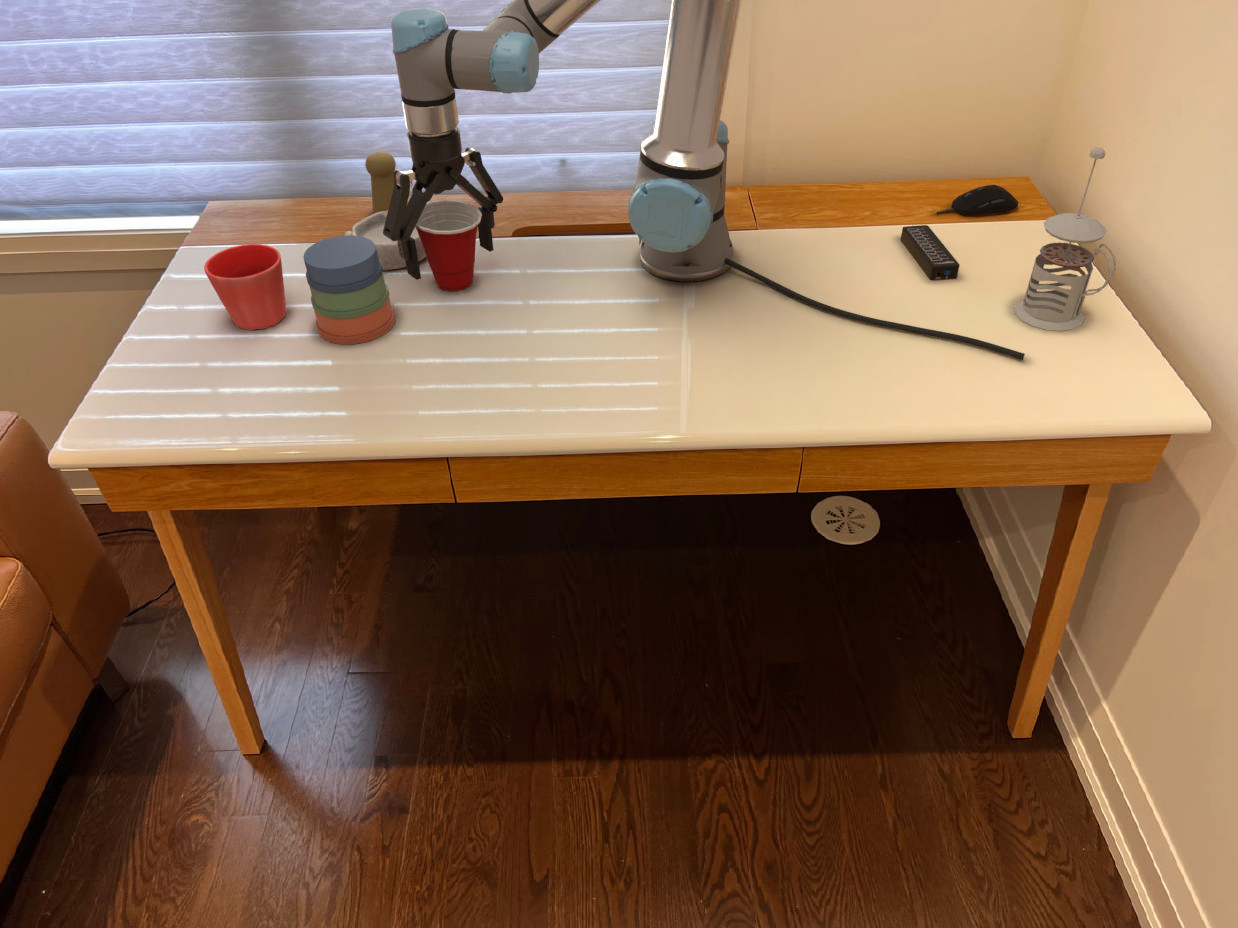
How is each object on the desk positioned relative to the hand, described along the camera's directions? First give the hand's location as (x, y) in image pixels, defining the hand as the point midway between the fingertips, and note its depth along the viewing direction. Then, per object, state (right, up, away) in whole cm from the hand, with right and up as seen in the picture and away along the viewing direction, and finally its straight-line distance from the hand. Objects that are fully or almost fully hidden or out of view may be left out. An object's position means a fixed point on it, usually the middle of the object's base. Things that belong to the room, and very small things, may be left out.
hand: (451, 262), depth 150 cm
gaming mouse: (+90, +13, +18) cm, 92 cm away
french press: (+91, -10, -10) cm, 92 cm away
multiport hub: (+77, +2, +5) cm, 77 cm away
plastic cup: (0, -3, +2) cm, 4 cm away
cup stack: (-13, -11, -7) cm, 18 cm away
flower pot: (-29, -10, -4) cm, 30 cm away
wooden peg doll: (-15, +14, +23) cm, 31 cm away
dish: (-12, +4, +11) cm, 16 cm away
